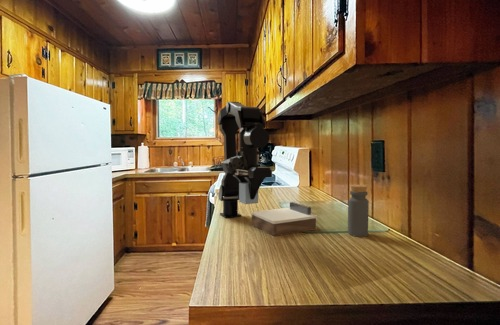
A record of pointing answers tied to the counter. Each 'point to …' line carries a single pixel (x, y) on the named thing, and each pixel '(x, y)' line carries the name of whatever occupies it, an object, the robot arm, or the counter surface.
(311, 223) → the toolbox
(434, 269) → the counter surface
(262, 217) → the lid
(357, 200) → the bottle
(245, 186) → the blue gray block
